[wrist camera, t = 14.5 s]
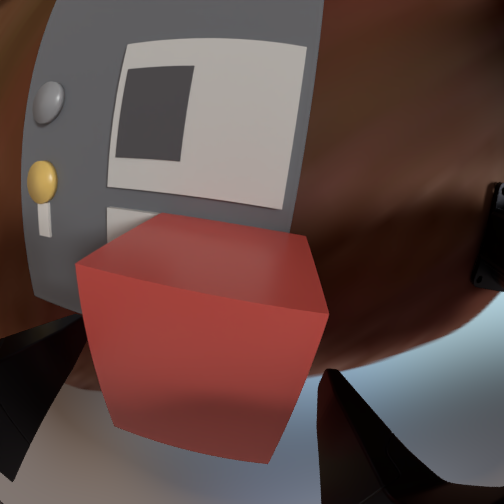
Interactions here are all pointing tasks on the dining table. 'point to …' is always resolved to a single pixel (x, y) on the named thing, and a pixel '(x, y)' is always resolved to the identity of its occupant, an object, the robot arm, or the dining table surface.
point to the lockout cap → (203, 332)
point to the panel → (162, 122)
